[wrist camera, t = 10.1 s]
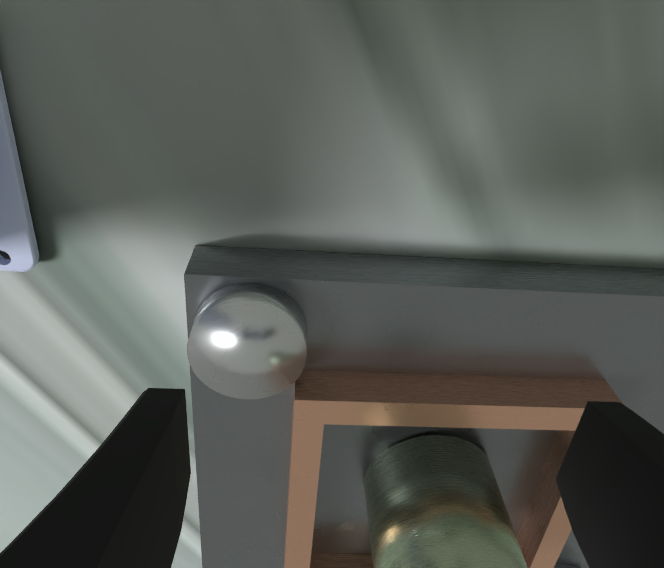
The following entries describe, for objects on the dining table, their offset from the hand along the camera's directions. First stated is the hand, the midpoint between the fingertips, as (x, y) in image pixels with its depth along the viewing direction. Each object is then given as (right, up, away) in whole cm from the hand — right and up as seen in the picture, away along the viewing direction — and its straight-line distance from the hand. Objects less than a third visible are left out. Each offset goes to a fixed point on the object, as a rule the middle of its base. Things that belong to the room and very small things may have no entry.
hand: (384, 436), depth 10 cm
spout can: (+3, -5, +11) cm, 13 cm away
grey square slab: (+3, -4, +13) cm, 14 cm away
